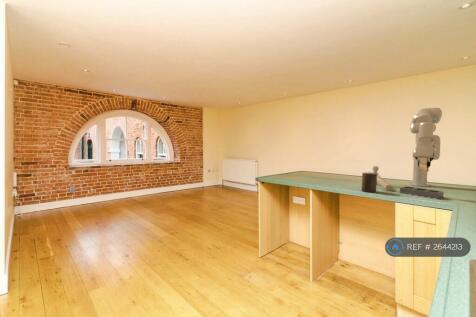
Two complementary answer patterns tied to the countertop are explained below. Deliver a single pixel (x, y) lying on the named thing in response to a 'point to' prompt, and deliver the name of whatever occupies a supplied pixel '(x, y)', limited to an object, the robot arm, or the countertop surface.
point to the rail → (422, 192)
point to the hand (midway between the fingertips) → (423, 166)
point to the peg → (423, 164)
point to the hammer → (381, 180)
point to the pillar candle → (369, 182)
